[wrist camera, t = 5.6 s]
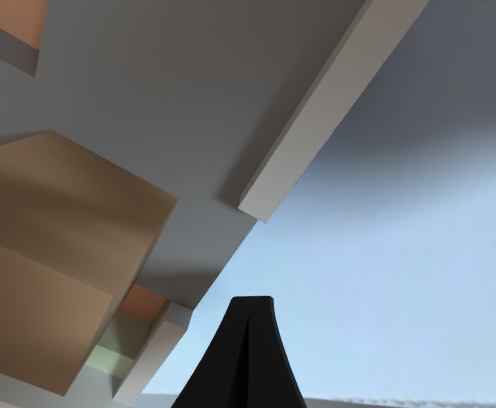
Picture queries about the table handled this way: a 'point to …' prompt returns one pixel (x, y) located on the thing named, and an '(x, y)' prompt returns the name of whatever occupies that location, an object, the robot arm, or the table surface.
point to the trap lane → (185, 133)
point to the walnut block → (67, 253)
